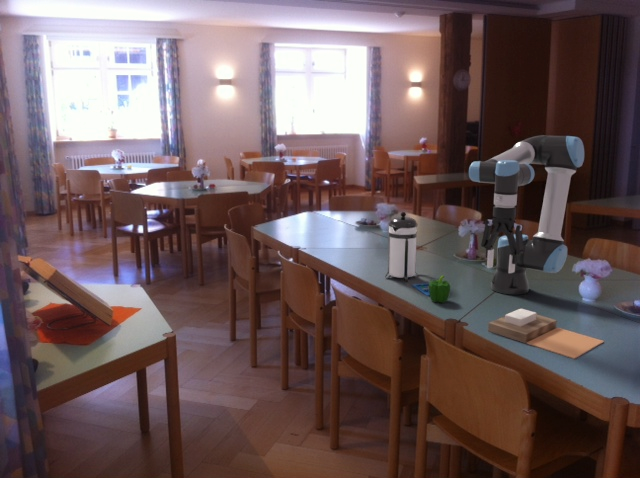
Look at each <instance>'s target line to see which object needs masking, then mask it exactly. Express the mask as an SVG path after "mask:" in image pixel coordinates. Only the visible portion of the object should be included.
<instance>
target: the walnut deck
mask: <svg viewBox="0 0 640 478" xmlns="http://www.w3.org/2000/svg"><path fill="white" fill-rule="evenodd" d="M557 323H558V320H557V319H554V318H552V317H547V316H545V315H540V314H538V313H536V320H534V321H532V322H529V323H527V324H525V325H523V326H521V327H520V326H517V325H514V324H510V323H507V322H505V315H504V316H502V317H500V318H496V319H495V320H492V321H490V322H488V329H487V331H488V332H490V333H493V334H495V335H498V336H499V335H500V336H501V337H505V338H508V339H512V340H515V341H518V342H520V343H523V344H527V342H529V341H531V340H533V339H535V338H537V337H539V336H541V335H543V334H545V333H547V332H549V331H551V330H553V329H556V328H557Z"/></svg>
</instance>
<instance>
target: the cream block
mask: <svg viewBox="0 0 640 478" xmlns="http://www.w3.org/2000/svg"><path fill="white" fill-rule="evenodd" d="M536 314H537V312H535V311H531V310H528V309H524V308H519V309H516V310H514V311H511V312H509V313H506V314H505V315H504V316H505V322H507V323H510V324H514V325H517V326H520V327H521V326H523V325H525V324H527V323H529V322H532V321H534V320H536Z"/></svg>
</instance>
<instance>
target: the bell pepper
mask: <svg viewBox="0 0 640 478" xmlns="http://www.w3.org/2000/svg"><path fill="white" fill-rule="evenodd" d="M444 278H445V276H444V275H441V276H440V277H439V279H437V280H430V282H428V283H429V293H430V296H429V297H430V300H431V301H432V302H435V303H446V302H447V301H448V300H449V297H450V292H451V285H450V283H449V282H448V280H443V279H444Z"/></svg>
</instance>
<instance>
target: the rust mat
mask: <svg viewBox="0 0 640 478" xmlns="http://www.w3.org/2000/svg"><path fill="white" fill-rule="evenodd" d="M604 342H605V341H604V340H602V339H598V338H594V337H592V336H588V335H584V334H581V333H578V332H574V331H572V330H571V331H570V330H567V329H564V328H560V327H556V328H555V329H553V330H551V331H549V332H547V333H545V334H543V335H541V336H539V337H537V338H535V339H533V340H531V341H529V342H527V343H526V344H527V345H530V346H533V347H534V348H535V347H536V348H538V349H542V350H544V351H548V352H551V353H554V354H557V355H561V356H563V357H567V358H569V359H572V360H575V359H577V358H579V357H581V356H583V355H584V354H586V353H588V352H589V351H591V350H594V349H595V348H596V347H598V346H600V345H602V344H603V343H604Z"/></svg>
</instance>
